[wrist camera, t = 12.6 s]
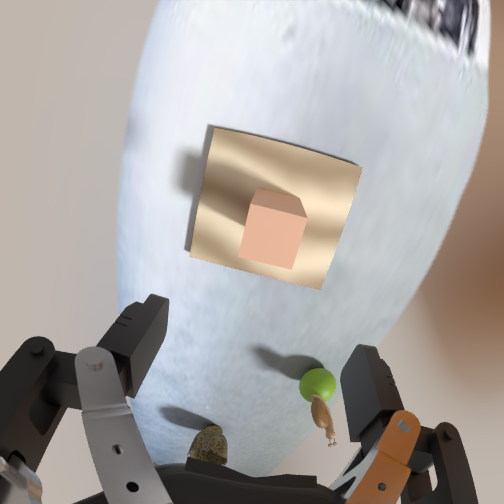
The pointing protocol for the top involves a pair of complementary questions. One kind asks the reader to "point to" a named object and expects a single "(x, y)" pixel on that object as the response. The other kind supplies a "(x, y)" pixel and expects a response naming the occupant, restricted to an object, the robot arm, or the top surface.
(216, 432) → the cup
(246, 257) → the terracotta block
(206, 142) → the top surface
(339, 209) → the birch board
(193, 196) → the top surface
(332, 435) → the snail figurine
